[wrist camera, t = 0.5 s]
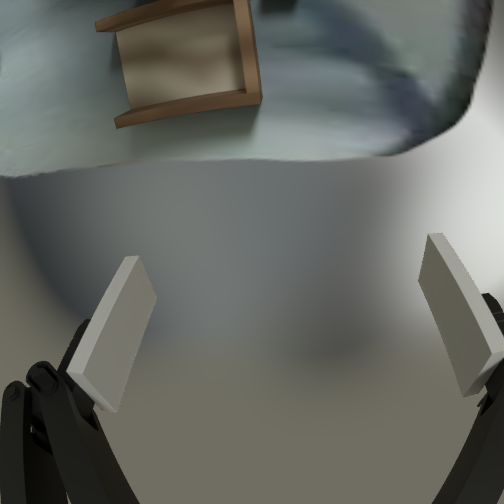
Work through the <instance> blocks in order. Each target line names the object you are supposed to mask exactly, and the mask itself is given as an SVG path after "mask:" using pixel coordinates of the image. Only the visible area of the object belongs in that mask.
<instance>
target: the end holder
mask: <svg viewBox="0 0 504 504" xmlns="http://www.w3.org/2000/svg"><path fill="white" fill-rule="evenodd" d="M95 27H96V32H116V36H117V42H118V48H119V53H120V59H121V64H122V69H123V74H124V79H125V84H126V89H127V94H128V98H129V103H130V107H131V110H129V111H127V112H125V113H123V114H122V115H120V116H118V117H116V118H114V121H115V125H116V129H118V128H122V127H126V126H131V125H135V124H139V123H144V122H148V121H153V120H158V119H163V118H168V117H173V116H179V115H184V114H190V113H196V112H202V111H208V110H215V109H222V108H230V107H238V106H246V105H256V104H261V102H262V98H263V94H262V86H261V78H260V71H259V63H258V56H257V48H256V41H255V34H254V27H253V20H252V13H251V6H250V0H159V1H155V2H152V3H149V4H145V5H142V6H139V7H136V8H133V9H130V10H127V11H124V12H121V13H118V14H115V15H112V16H110V17H107V18H104V19H102V20H99V21H97V22H95Z"/></svg>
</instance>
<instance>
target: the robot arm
mask: <svg viewBox="0 0 504 504" xmlns="http://www.w3.org/2000/svg"><path fill="white" fill-rule="evenodd" d="M418 282H419V284H420V286H421V289H422V291H423V293H424V295H425V298H426V300H427V302H428V305H429V307H430V309H431V311H432V314H433V316H434V319H435V321H436V324H437V326H438V329H439V331H440V334H441V337H442V339H443V342H444V344H445V347H446V349H447V352H448V355H449V358H450V361H451V363H452V366H453V369H454V372H455V375H456V378H457V381H458V384H459V387H460V391H461V394H462V397H467V396H470V395H474V394H478V393H479V392H480V391H481V389H482V388H483V387H484V385H485V386H486V389H487V393H486V395H485V396H484V397H483V398H482V400H481V401H480V402H479V404H478V405H477V407H480V405H481V404H482V405H481V407H480V410H479V412H478V415H477V418H476V420H475V422H474V424H473V427H472V429H471V431H470V433H469V435H468V438H467V440H466V442H465V444H464V446H463V448H462V450H461V452H460V454H459V457H458V458H457V460H456V462H455V464H454V466H453V468H452V470H451V472H450V474H449V475H448V477H447V479H446V481H445V482H444V484H443V486H442V488H441V489H440V491H439V493H438V495H437V496H436V498H435V499H434V501H433V502H432V504H497V502H498V500H499V498H500V496H501V494H502V491H503V489H504V313H503V310H502V308H501V306H500V305H499V303H498V301H497V300H496V299H495V298H494V297H493V296H491V295H490V294H489V293H486V294H481V293H480V292H479V290H478V288H477V286H476V285H475V283H474V281H473V280H472V278H471V276H470V275H469V273H468V272H467V270H466V268H465V267H464V265H463V263H462V262H461V260H460V259H459V257H458V256H457V254H456V252H455V251H454V249H453V248H452V246H451V245H450V243H449V242H448V240H447V239H446V237H445V236H444V235H443V233H433V234H428V236H427V242H426V247H425V252H424V257H423V261H422V266H421V270H420V275H419V280H418ZM156 300H157V297H156V295H155V292H154V290H153V288H152V285H151V283H150V281H149V278H148V276H147V273H146V271H145V268H144V266H143V263H142V261H141V258H140V256H127V257H125V258H124V260H123V262H122V263H121V265H120V267H119V269H118V270H117V272H116V274H115V276H114V278H113V280H112V281H111V283H110V285H109V287H108V289H107V290H106V292H105V294H104V296H103V298H102V300H101V302H100V303H99V305H98V307H97V309H96V311H95V313H94V315H93V317H92V319H86V320H85V321H84V322H83V323H82V324H81V325H80V326H79V327H78V329H77V331H76V333H75V335H74V338H73V339H72V341H71V343H70V347H68V349H67V351H66V353H65V355H64V357H63V359H62V361H61V364H60V365H59V367H58V370H57V371H56V370H55V369H54V367H53V366H52V365H51V364H50V363H49V362H47V361H41V362H37V363H36V364H34V365H33V366H32V367H31V368H30V369H29V371H28V373H27V376H26V382H27V383H28V384H29V385H30V386H31V387H28V388H27V387H26V386H25V385H24V384H23V383H22V382H20V381H14V382H12V383H10V384H9V385H8V386H7V387H6V389H5V390H4V394H3V399H2V409H1V423H0V424H1V425H0V494H1V504H68V500H67V494H68V497H69V500H70V502H71V504H140V503H139V502H138V500H137V498H136V496H135V495H134V493H133V491H132V489H131V487H130V485H129V483H128V482H127V480H126V478H125V476H124V474H123V472H122V470H121V468H120V466H119V464H118V462H117V460H116V458H115V456H114V454H113V452H112V449H111V448H110V445H109V443H108V441H107V439H106V436H105V434H104V432H103V429H102V427H101V425H100V422H99V420H98V417H97V415H96V413H95V412H94V410H93V406H94V404H95V403H96V405H98V407H99V408H100V409H101V410H105V411H111V412H116V413H117V412H118V409H119V405H120V402H121V399H122V396H123V393H124V390H125V387H126V384H127V381H128V378H129V374H130V372H131V369H132V366H133V363H134V360H135V357H136V354H137V352H138V349H139V346H140V343H141V340H142V338H143V335H144V332H145V329H146V327H147V324H148V321H149V319H150V316H151V313H152V310H153V308H154V305H155V303H156ZM31 427H32V432H31ZM66 492H67V494H66Z"/></svg>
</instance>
